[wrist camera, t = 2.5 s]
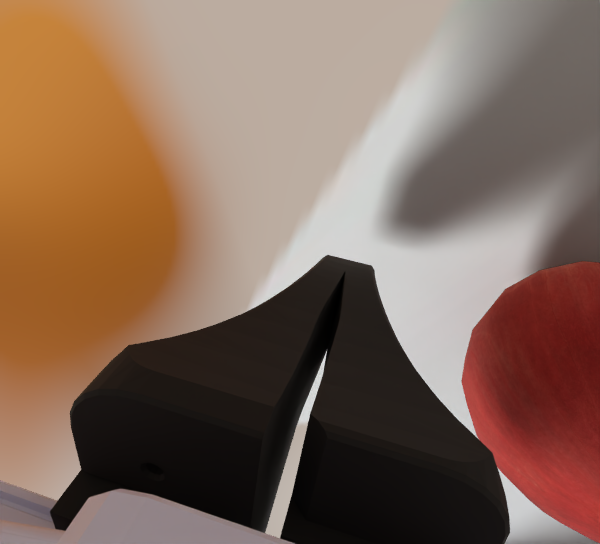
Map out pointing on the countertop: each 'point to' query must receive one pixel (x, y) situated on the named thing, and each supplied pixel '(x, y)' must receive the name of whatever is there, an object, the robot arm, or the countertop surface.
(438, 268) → the countertop surface
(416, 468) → the robot arm
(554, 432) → the onion
